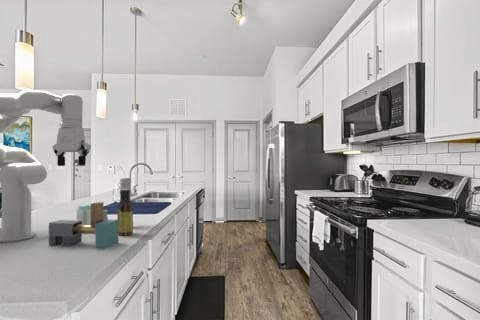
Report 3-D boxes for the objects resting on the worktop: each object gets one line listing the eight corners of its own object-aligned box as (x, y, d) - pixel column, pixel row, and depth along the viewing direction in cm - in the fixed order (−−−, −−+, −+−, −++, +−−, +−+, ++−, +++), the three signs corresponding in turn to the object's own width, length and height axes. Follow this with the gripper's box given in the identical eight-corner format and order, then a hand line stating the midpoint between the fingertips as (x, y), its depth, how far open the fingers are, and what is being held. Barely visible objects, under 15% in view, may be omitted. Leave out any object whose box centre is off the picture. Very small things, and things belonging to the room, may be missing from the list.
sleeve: (47, 245, 100) (47, 223, 101) (60, 241, 106) (60, 219, 106) (70, 246, 99) (71, 223, 99) (82, 242, 105) (82, 220, 105)
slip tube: (67, 233, 100) (67, 203, 101) (75, 231, 104) (75, 201, 104) (105, 235, 98) (105, 204, 98) (112, 232, 102) (112, 202, 102)
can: (77, 230, 124) (77, 204, 124) (94, 228, 127) (94, 203, 127) (75, 233, 118) (75, 206, 118) (93, 232, 121) (93, 205, 121)
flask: (115, 231, 122) (116, 209, 122) (103, 235, 115) (103, 212, 115) (103, 230, 124) (103, 208, 125) (90, 233, 118) (90, 211, 118)
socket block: (95, 248, 96) (95, 223, 96) (109, 242, 104) (109, 219, 104) (104, 249, 95) (105, 224, 96) (118, 242, 103) (118, 219, 104)
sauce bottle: (120, 232, 119) (120, 188, 119) (134, 232, 120) (134, 188, 120) (114, 236, 112) (115, 190, 113) (129, 236, 113) (130, 189, 113)
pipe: (126, 229, 126) (127, 166, 126) (115, 228, 127) (115, 166, 128) (133, 226, 131) (133, 166, 132) (122, 226, 132) (122, 166, 133)
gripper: (45, 124, 108) (45, 166, 107) (83, 122, 105) (83, 165, 105) (61, 126, 115) (60, 165, 115) (96, 125, 112) (96, 165, 112)
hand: (71, 165), depth 110 cm, fingers open, 9 cm apart
